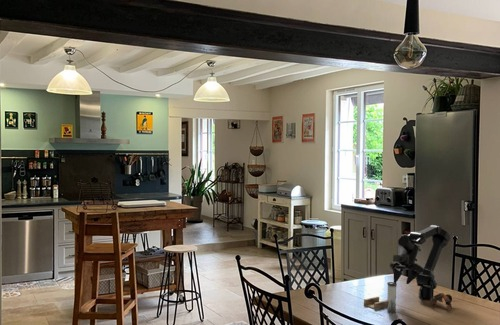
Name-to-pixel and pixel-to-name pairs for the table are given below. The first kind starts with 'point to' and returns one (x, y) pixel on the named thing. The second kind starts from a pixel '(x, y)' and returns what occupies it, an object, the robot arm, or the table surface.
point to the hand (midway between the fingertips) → (400, 283)
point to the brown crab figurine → (439, 297)
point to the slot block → (375, 303)
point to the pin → (391, 297)
